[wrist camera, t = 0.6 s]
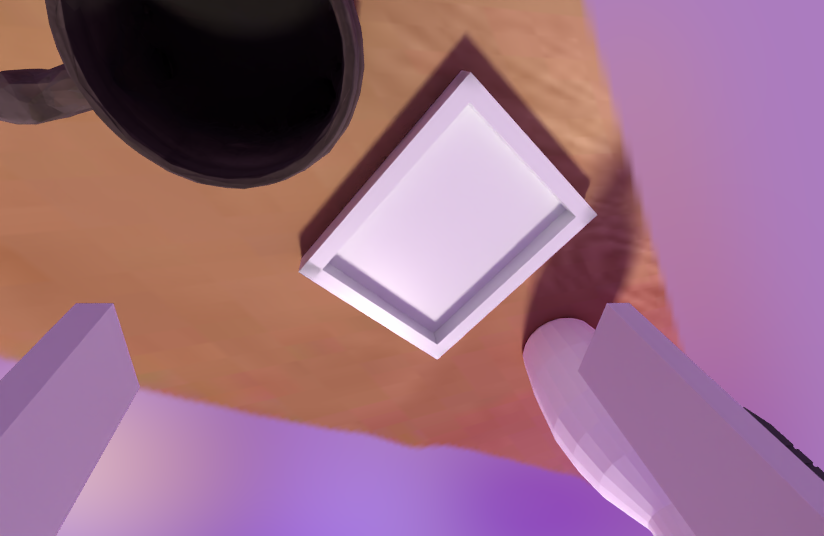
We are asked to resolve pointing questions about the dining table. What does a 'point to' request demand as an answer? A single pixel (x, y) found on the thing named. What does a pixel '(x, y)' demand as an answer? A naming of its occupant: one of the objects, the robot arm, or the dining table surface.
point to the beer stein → (202, 81)
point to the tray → (448, 222)
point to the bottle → (593, 428)
